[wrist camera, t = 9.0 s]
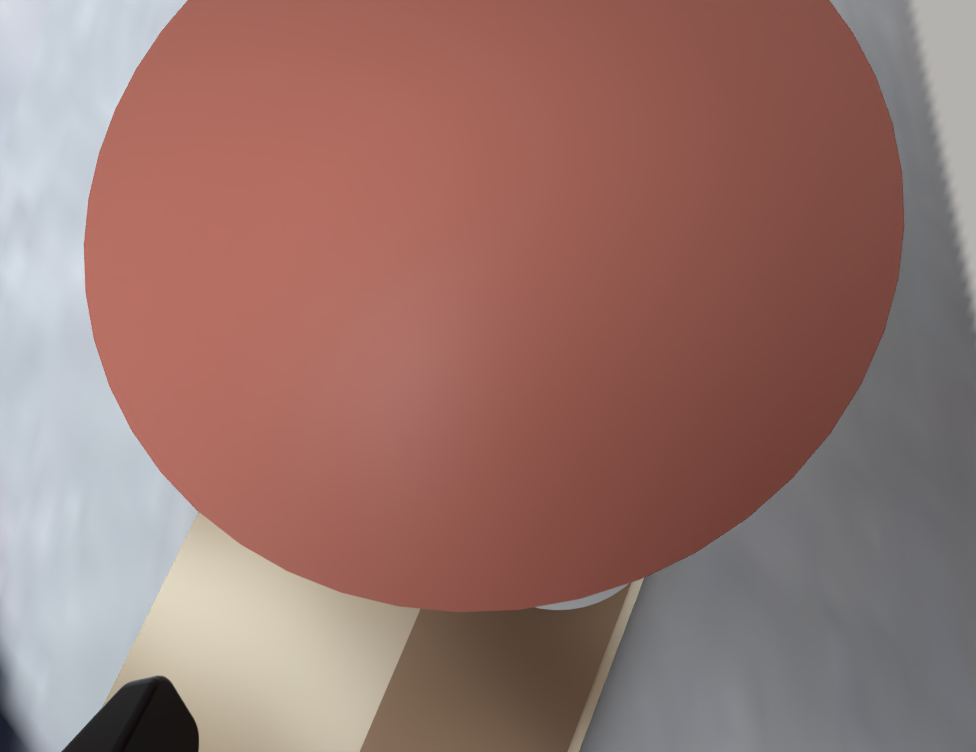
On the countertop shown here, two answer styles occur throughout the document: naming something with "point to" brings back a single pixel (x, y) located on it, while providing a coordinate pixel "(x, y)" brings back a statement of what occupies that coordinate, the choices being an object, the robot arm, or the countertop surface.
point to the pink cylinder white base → (491, 279)
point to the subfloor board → (365, 662)
